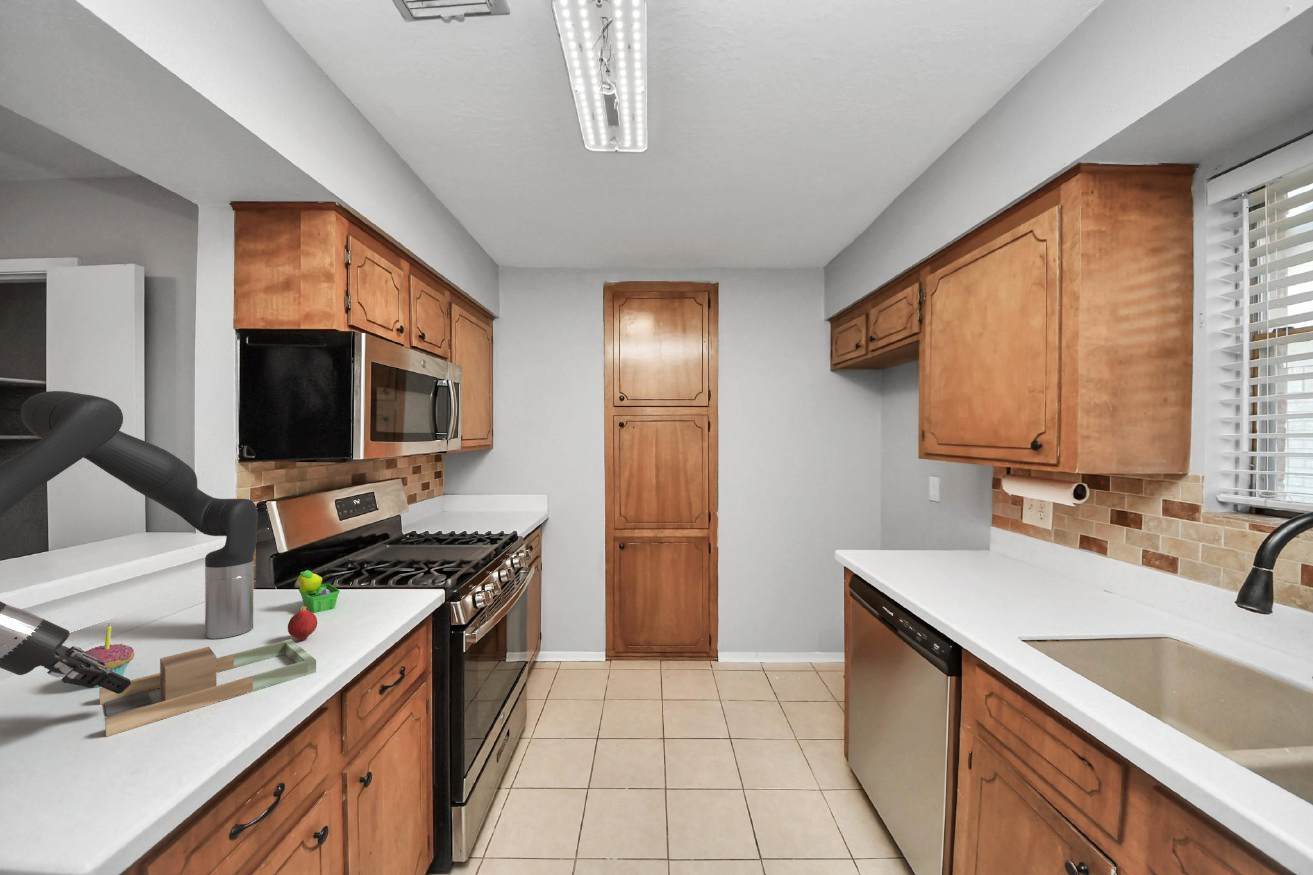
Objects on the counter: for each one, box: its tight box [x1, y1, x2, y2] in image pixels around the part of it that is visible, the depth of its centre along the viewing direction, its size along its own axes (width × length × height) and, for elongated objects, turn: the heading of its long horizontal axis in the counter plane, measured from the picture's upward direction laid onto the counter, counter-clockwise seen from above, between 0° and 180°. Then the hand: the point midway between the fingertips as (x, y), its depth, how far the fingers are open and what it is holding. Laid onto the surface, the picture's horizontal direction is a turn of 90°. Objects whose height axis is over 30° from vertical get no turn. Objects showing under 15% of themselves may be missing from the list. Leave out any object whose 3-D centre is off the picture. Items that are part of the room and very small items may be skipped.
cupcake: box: [84, 622, 135, 688], centre depth 101 cm, size 9×8×12 cm
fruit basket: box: [297, 569, 341, 614], centre depth 144 cm, size 11×9×11 cm
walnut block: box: [159, 646, 217, 702], centre depth 96 cm, size 7×7×7 cm
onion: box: [287, 605, 318, 641], centre depth 121 cm, size 6×6×8 cm
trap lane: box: [99, 638, 317, 737], centre depth 99 cm, size 17×30×2 cm, turn 140°
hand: (125, 687), depth 90 cm, fingers closed
